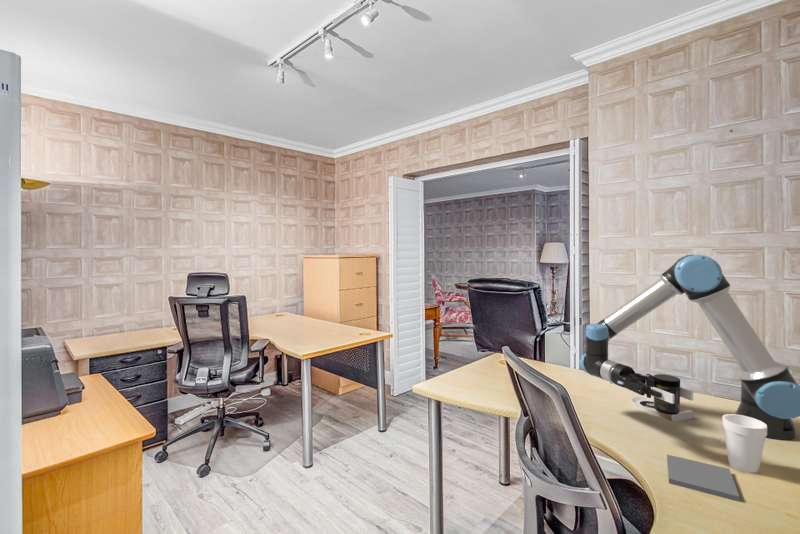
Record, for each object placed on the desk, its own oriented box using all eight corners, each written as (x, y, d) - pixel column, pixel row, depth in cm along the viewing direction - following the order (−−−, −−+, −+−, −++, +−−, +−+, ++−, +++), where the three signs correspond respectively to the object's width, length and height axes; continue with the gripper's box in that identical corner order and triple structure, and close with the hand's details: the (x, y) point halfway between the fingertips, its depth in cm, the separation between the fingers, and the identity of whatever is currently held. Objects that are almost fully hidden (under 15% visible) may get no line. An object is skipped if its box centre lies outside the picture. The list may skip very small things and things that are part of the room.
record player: (671, 414, 135) (625, 394, 154) (671, 423, 135) (625, 402, 155) (696, 410, 138) (648, 391, 157) (696, 418, 138) (648, 399, 157)
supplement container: (679, 417, 112) (680, 382, 112) (652, 412, 116) (652, 378, 116) (680, 409, 117) (680, 376, 117) (654, 404, 121) (654, 372, 121)
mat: (729, 473, 104) (729, 468, 104) (739, 501, 92) (739, 496, 92) (667, 458, 112) (667, 454, 112) (668, 482, 100) (668, 478, 100)
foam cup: (754, 479, 101) (755, 431, 100) (714, 462, 109) (715, 417, 109) (773, 470, 105) (774, 424, 104) (733, 454, 113) (733, 411, 113)
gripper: (639, 381, 137) (707, 405, 115) (595, 387, 131) (657, 414, 109) (640, 360, 136) (707, 381, 114) (595, 366, 131) (657, 388, 109)
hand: (682, 397), depth 112 cm, fingers closed on supplement container, 7 cm apart
